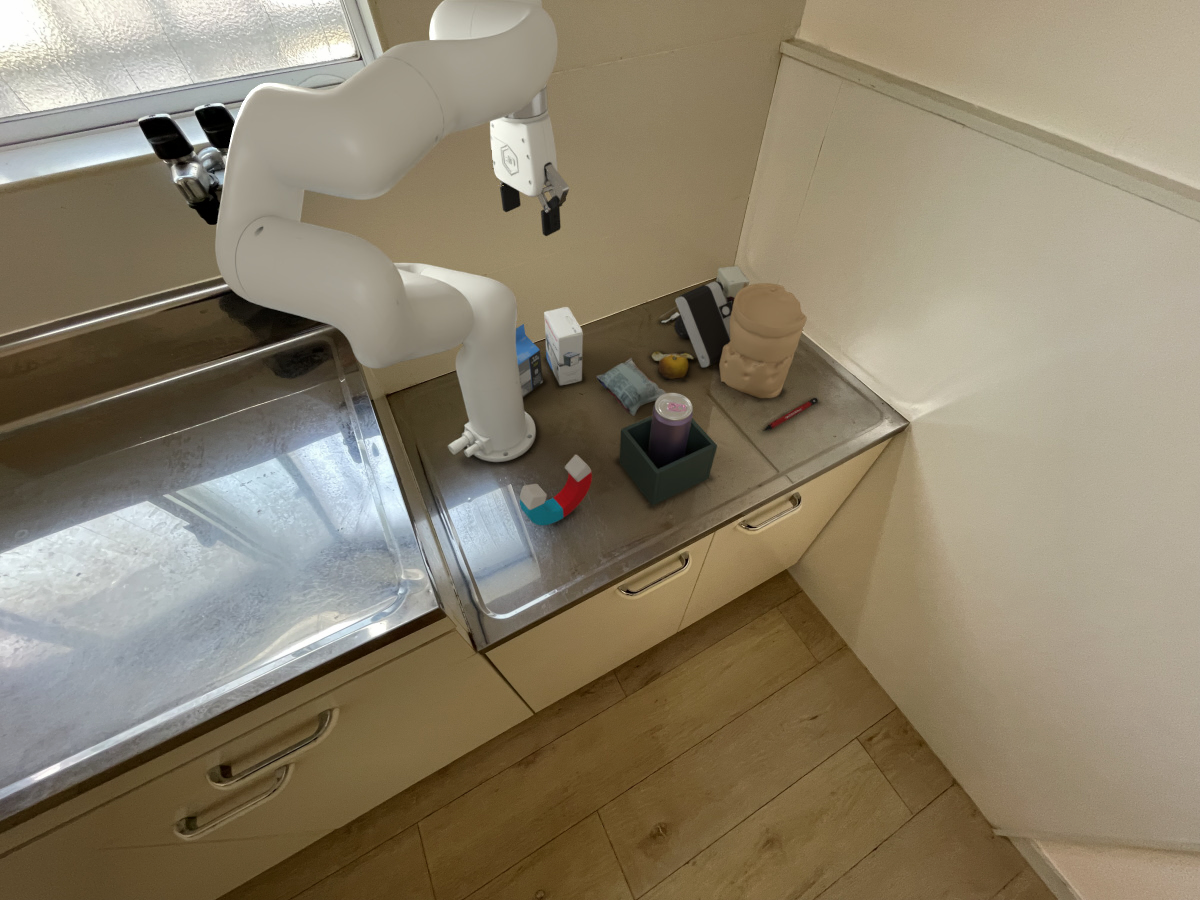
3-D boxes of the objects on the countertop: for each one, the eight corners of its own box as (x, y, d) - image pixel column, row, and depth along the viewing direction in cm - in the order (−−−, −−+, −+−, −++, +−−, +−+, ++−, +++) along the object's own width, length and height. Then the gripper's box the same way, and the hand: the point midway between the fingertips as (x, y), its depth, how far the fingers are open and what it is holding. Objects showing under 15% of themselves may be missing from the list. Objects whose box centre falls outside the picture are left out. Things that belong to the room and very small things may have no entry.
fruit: (692, 354, 115) (694, 340, 112) (694, 382, 110) (697, 368, 107) (651, 353, 115) (652, 339, 113) (652, 381, 110) (653, 367, 107)
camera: (684, 370, 119) (721, 352, 122) (713, 365, 109) (752, 345, 112) (658, 304, 116) (697, 287, 119) (685, 293, 106) (726, 274, 109)
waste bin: (652, 506, 92) (656, 473, 85) (619, 462, 97) (620, 428, 91) (708, 478, 95) (717, 445, 89) (673, 437, 101) (679, 403, 94)
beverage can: (679, 484, 94) (691, 423, 82) (643, 478, 94) (651, 417, 83) (683, 456, 97) (695, 394, 86) (649, 451, 98) (656, 389, 87)
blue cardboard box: (510, 407, 105) (502, 357, 96) (496, 398, 107) (486, 347, 97) (543, 382, 110) (539, 332, 100) (529, 373, 111) (523, 322, 102)
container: (762, 354, 115) (785, 277, 101) (794, 396, 108) (823, 319, 94) (705, 367, 113) (721, 290, 99) (734, 411, 105) (756, 334, 91)
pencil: (760, 431, 102) (761, 427, 101) (813, 400, 107) (814, 396, 106) (763, 434, 102) (765, 430, 101) (816, 403, 107) (818, 399, 106)
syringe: (659, 326, 122) (666, 326, 120) (656, 317, 121) (664, 317, 119) (688, 307, 127) (695, 307, 125) (686, 299, 126) (693, 299, 124)
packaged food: (631, 368, 112) (632, 349, 109) (667, 404, 106) (670, 385, 102) (594, 385, 109) (594, 366, 106) (629, 423, 103) (631, 404, 99)
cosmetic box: (738, 332, 120) (751, 282, 110) (719, 335, 119) (730, 285, 109) (727, 314, 124) (738, 264, 114) (708, 317, 123) (718, 267, 113)
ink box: (545, 359, 114) (541, 310, 105) (569, 353, 115) (567, 304, 106) (560, 387, 109) (557, 338, 100) (584, 380, 110) (583, 332, 101)
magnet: (533, 538, 88) (527, 501, 80) (523, 526, 89) (516, 489, 81) (592, 499, 92) (592, 461, 85) (582, 488, 94) (581, 450, 86)
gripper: (459, 89, 78) (479, 208, 92) (540, 128, 71) (549, 251, 84) (502, 76, 82) (515, 192, 95) (584, 111, 74) (586, 232, 87)
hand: (531, 220), depth 89 cm, fingers open, 9 cm apart
